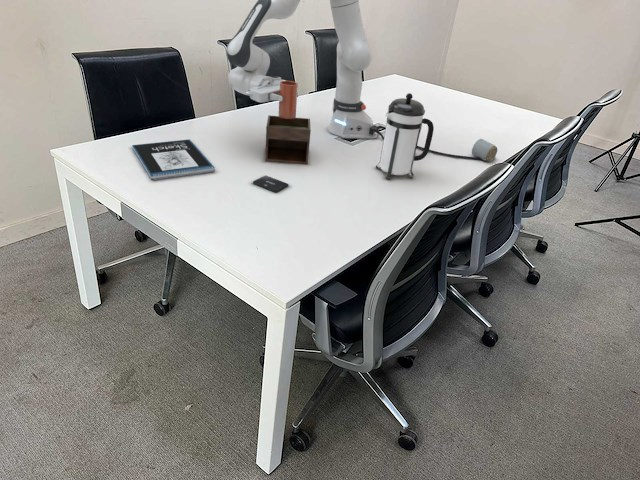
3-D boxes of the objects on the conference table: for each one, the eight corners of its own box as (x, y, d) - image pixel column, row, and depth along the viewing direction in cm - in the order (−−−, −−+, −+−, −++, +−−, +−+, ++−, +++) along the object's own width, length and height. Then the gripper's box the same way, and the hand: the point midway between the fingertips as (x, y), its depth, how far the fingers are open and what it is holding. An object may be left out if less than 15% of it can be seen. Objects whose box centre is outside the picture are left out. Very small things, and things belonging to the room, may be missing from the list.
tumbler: (292, 113, 175) (294, 80, 168) (298, 118, 170) (300, 85, 164) (276, 113, 172) (277, 80, 166) (281, 119, 168) (283, 85, 161)
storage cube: (307, 151, 186) (309, 118, 178) (307, 164, 175) (310, 130, 167) (267, 148, 184) (268, 115, 177) (265, 161, 173) (266, 126, 166)
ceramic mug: (485, 163, 192) (491, 146, 188) (469, 156, 198) (474, 139, 194) (499, 159, 199) (505, 142, 195) (483, 153, 204) (488, 136, 200)
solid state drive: (276, 192, 152) (276, 190, 152) (252, 183, 157) (252, 181, 156) (288, 185, 158) (288, 183, 157) (265, 176, 162) (265, 175, 161)
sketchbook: (189, 142, 182) (189, 137, 181) (215, 173, 161) (215, 167, 160) (132, 148, 172) (131, 142, 171) (152, 181, 151) (151, 175, 150)
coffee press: (407, 186, 167) (425, 103, 150) (367, 173, 173) (381, 92, 157) (424, 171, 179) (442, 93, 163) (387, 160, 186) (401, 84, 170)
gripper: (242, 83, 165) (270, 92, 158) (281, 76, 179) (308, 84, 172) (242, 101, 168) (269, 111, 162) (280, 92, 182) (307, 101, 176)
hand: (290, 97), depth 167 cm, fingers closed on tumbler, 6 cm apart
